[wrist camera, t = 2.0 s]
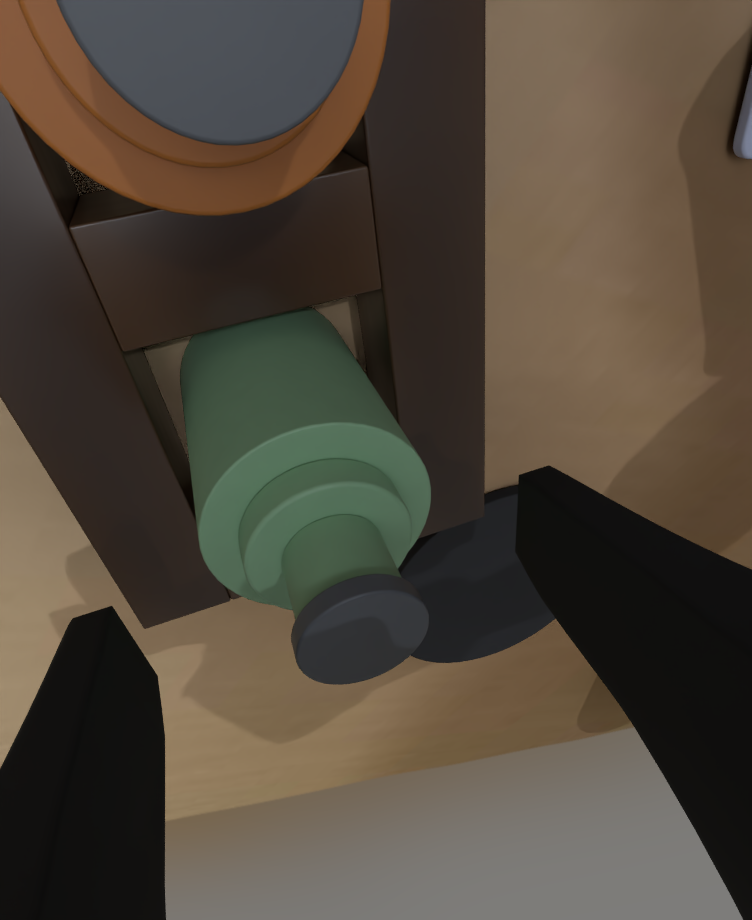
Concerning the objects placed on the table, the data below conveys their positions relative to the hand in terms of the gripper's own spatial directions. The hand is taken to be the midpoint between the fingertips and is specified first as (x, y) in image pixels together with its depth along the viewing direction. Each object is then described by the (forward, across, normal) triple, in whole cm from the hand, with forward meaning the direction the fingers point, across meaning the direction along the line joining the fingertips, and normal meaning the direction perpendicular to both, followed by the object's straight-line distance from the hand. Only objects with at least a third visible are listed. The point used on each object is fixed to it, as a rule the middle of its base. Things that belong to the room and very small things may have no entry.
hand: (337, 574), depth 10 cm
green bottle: (+8, 0, 0) cm, 8 cm away
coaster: (+8, -7, +12) cm, 16 cm away
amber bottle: (+8, 0, -8) cm, 11 cm away
